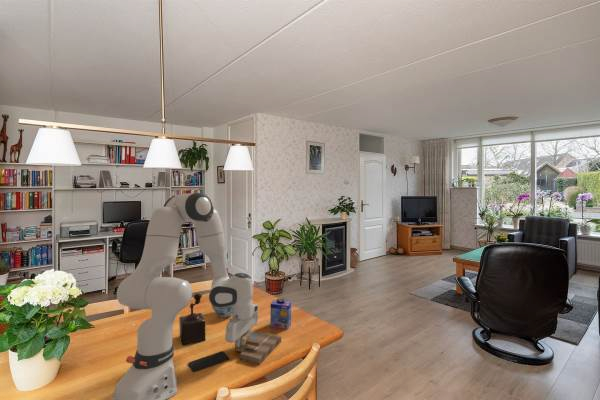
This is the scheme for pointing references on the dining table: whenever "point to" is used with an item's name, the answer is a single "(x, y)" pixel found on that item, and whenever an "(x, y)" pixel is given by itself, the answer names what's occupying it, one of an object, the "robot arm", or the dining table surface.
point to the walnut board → (261, 348)
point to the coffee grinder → (192, 325)
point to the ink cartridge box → (280, 314)
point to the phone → (208, 361)
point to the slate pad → (254, 335)
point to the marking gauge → (246, 342)
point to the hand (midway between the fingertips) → (242, 342)
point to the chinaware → (223, 310)
